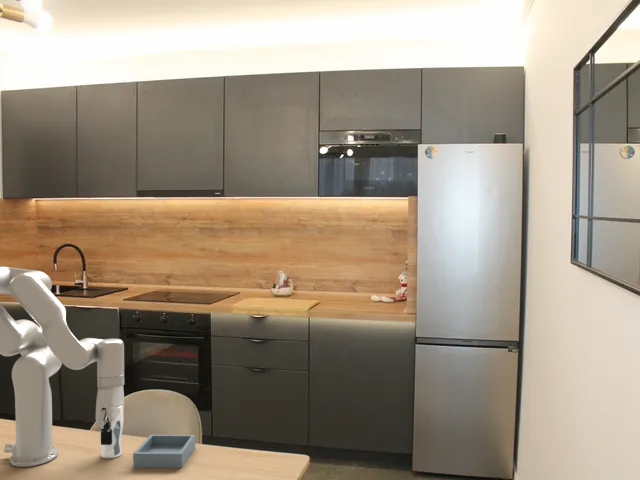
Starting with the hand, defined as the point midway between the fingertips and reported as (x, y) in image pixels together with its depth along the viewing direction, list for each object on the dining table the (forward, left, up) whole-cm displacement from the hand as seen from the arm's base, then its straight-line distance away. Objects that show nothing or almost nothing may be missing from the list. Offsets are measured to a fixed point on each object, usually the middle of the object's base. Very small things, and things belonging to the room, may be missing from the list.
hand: (111, 439), depth 157 cm
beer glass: (0, 0, -5) cm, 5 cm away
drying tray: (+17, -2, -5) cm, 18 cm away
